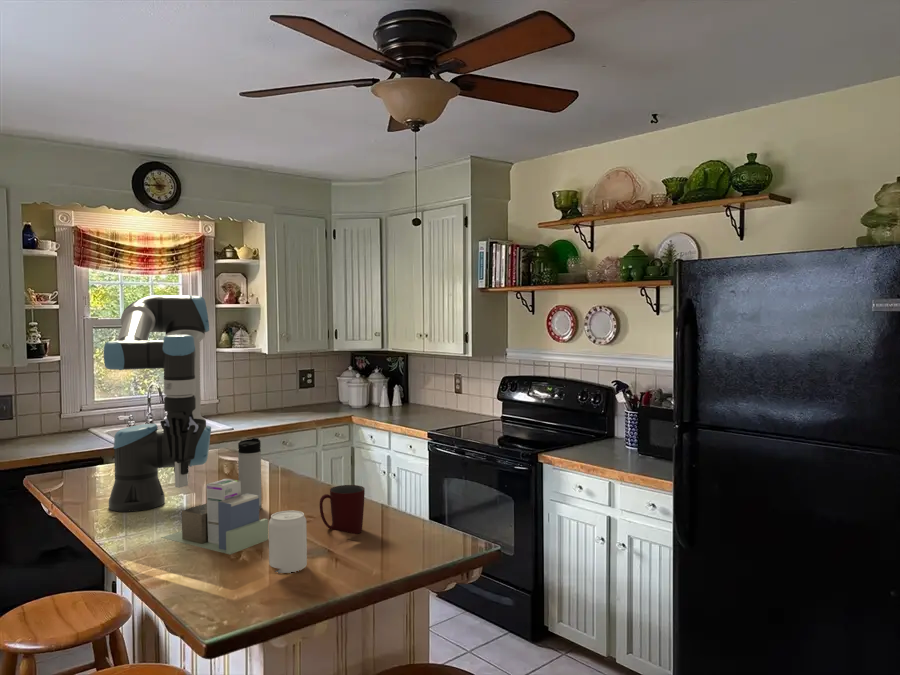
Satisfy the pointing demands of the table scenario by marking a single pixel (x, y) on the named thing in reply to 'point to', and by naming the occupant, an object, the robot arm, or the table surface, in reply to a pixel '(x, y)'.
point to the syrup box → (214, 495)
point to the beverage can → (288, 541)
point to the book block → (236, 514)
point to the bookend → (195, 524)
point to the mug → (345, 508)
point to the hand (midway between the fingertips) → (181, 486)
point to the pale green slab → (233, 537)
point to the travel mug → (250, 467)
